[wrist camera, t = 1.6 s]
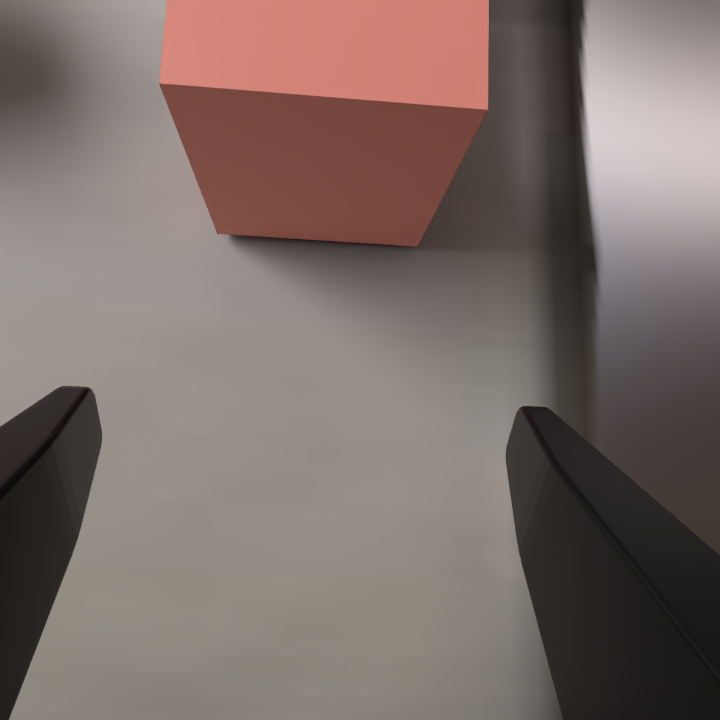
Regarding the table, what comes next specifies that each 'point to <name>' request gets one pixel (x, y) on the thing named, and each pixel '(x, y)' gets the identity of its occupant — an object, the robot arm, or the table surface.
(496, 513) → the table surface
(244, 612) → the table surface
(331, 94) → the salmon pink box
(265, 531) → the table surface
